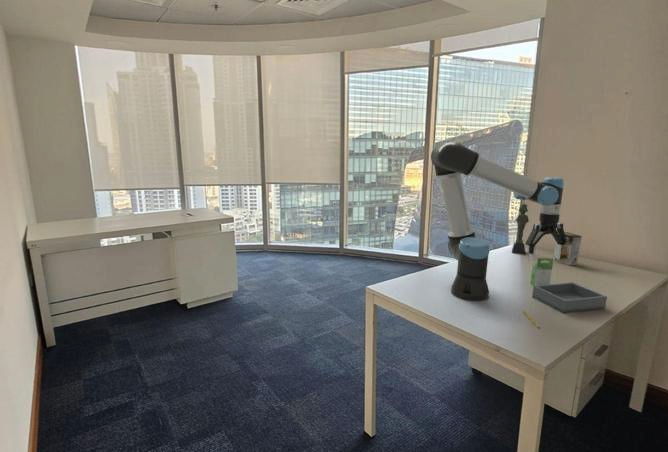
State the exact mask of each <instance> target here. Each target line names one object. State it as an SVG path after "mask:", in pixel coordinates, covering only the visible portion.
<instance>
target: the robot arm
mask: <svg viewBox="0 0 668 452" xmlns="http://www.w3.org/2000/svg"><path fill="white" fill-rule="evenodd" d="M430 160H431V161H430V162H431V163H432V165H433V166H434V171H435V176H436V177H437V178H439V179H440V183H441V189H442V193H443V200H444V205H445V210H446V213H447V220H448V225H449V231H448V232H447V238H448V240H447V248H448V252H449V253H450V254H451V256H452V257H453V258H454V259H456V261H457V270H456V276H455V278H454V281H453V283H452V285H451V288H450V290H451V292H450V293H452V295H453V296H455V297H457V298H459V299H463V300H468V301H484V300H487V299H488V298H489V294H490V291H489V285H488V283H487V282H488V281H487V272H488V271H487V270H488V264H489V263H488V261H489V255H490V245H489V243H488V242H487V241H486V240H484V239H481V238H478V237H476V233H475V229H474V228H473V227H471V226H470V219H469V214H468V208H467V203H466V197H465V192H464V191H465V190H464V185H463V180H462V174H463V175H465V176H468V177H469V176H470V175H471V176H473V177H476V178H479V179H481V180H483V181H486V182H488V183H491V184H493V185H494V186H497V187H500V188H502V189H504V190H507V191H509V192H511V193H513V197H514V199H516V200H521V201H525V200H527V201H530V202H534V203H536V204H540V213H539V222H540V223H539V224H537V223H533V227H532V230H531V231H530V233H529V235H528V237H527V239H526V242H525V243H524V245H526V246H527V247H528V261H531V262H535V260H536V252H537V246H536V245H537V244H538V243H539V242H540V240H541V239H543V237H544V236H546V235H551V236H552V237H553V238H554V240H555V242H556V243H554V253H553V259H555V258H556V259H560V254H561V251H562V245H565V243H567V240H566V236H565V233H564V232H565V230H564V223H562V222H560V217H561V215H560V212H561V206H562V198H563V193H564V179H563V178H562V177H561V178H560V177H551V176H550V177H545V178H544V179H543V181H542V182H539V181H538V180H535V179H532V178H531V177H528V176H526V175H523V174H521V173H520V172H517V171H514V170H511V169H509V168H507V167H505V166H502V165H500V164H498V163H495V162H493V161H491V160H488V159H486V158H483V157H481V156H480V153H479V152H476V151H474V150H472V149H470V148H469V147H467V146H465V145H463V144H462V143H459V142H456V141H443V142H440V143H437V145H435V146H434V147H433V149H432V150H431V154H430ZM557 243H558V244H557Z"/></svg>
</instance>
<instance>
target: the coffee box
mask: <svg viewBox="0 0 668 452" xmlns="http://www.w3.org/2000/svg"><path fill="white" fill-rule="evenodd" d="M564 233H565V236H566V240H567V243H565V245H562V251H561V254H560V259H556V258H554V261H555V262H558V263H561V264H563V265H567V266H574V265H575V266H576V265H577V264H578V259H579V253H580V248H581V241H582V238H583V237H582V236H581V235H579V234H576V233H575V234H574V233H572V232H565V231H564ZM556 244H558V243H557V242H556Z"/></svg>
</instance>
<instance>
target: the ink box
mask: <svg viewBox="0 0 668 452" xmlns="http://www.w3.org/2000/svg"><path fill="white" fill-rule="evenodd" d="M544 261H547V262H544ZM553 263H554V258H543V257H538V258H537V262H536V263H535V262H534V263H532V270H531V276H530V281H529V282H530V284H531V286H533V287H534V286H538V285H549V284H551V278H552V273H553V272H552V270H553Z"/></svg>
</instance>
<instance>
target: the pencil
mask: <svg viewBox="0 0 668 452" xmlns="http://www.w3.org/2000/svg"><path fill="white" fill-rule="evenodd" d="M522 313H523V314H524V315H525V316H526V317H527V319H529V320H530V322H531V323H532V324H533V325H534V326H535V327H536V328H537V329H540V325H539V324H538V322H536V321H535V320H534V318H532V317H531V315H530V314H529V313H528V312H527V311H526V310H524V309H523V310H522Z"/></svg>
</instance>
